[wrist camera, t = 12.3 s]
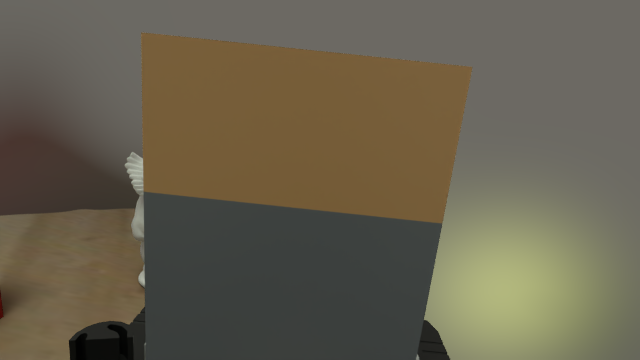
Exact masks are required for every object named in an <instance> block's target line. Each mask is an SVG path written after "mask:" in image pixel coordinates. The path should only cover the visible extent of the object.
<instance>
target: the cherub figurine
mask: <svg viewBox="0 0 640 360" xmlns="http://www.w3.org/2000/svg"><path fill="white" fill-rule="evenodd" d="M127 162H128V163H126V164H125V167H126V168H127V169H128V170H127V173H128V174H130V176H129V177H130V179H133V181H132V182H131V183H132V185H133V188H134V189H135V190H136V192H137V194H139V195H140V197H139V199H138V201H137V205H136V210H135V216H134V219H133V221H132V224H131V227H132V230H133V236H134V238H135V239H136V240H138V241H140V242H141V241H142V242H141V246H140V253H141V257H142V260H143V262H144V192H143V158H141V157H139V156H138V155H137V154H135V153H134V152H132V153H131V155H130V157H128V158H127ZM138 280H139V283H140V284H141V286H143V287H144V288H145V264H144V266H143V271H142V272H141V273H140V275H139V278H138Z"/></svg>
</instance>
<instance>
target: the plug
mask: <svg viewBox="0 0 640 360" xmlns="http://www.w3.org/2000/svg"><path fill="white" fill-rule="evenodd" d="M141 47H142V48H141V49H142V115H143V116H142V117H143V192H144V263H145V334H146V360H416V357H417V352H418V347H419V342H420V337H421V331H422V326H423V321H424V315H425V311H426V305H427V300H428V295H429V290H430V284H431V279H432V274H433V269H434V264H435V259H436V253H437V248H438V243H439V238H440V233H441V228H442V222H443V217H444V212H445V207H446V202H447V197H448V191H449V186H450V181H451V175H452V170H453V165H454V160H455V155H456V149H457V145H458V140H459V133H460V129H461V124H462V119H463V113H464V108H465V102H466V98H467V92H468V88H469V82H470V77H471V72H472V67H467V66H458V65H447V64H438V63H429V62H419V61H410V60H409V61H408V60H400V59H390V58H381V57H372V56H362V55H352V54H343V53H332V52H323V51H313V50H303V49H295V48H285V47H275V46H266V45H256V44H247V43H237V42H227V41H218V40H209V39H199V38H189V37H180V36H170V35H161V34H151V33H141Z"/></svg>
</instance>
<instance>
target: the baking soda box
mask: <svg viewBox="0 0 640 360" xmlns="http://www.w3.org/2000/svg"><path fill="white" fill-rule="evenodd" d="M2 317H3V309H2V300H1V292H0V319H1V318H2Z"/></svg>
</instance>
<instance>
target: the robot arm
mask: <svg viewBox="0 0 640 360" xmlns="http://www.w3.org/2000/svg"><path fill="white" fill-rule="evenodd" d="M69 348H70V360H146V334H145V307H144V308H143V309H142V311H141V312H140V314H138V315H137V316H136V318H135V319H134V320H133V323H132V322H131V323H130V325H128V324H125V323H123V322H116V321H108V322H101V323H97V324H94V325H91V326H88V327H86V328H84V329H82V330H81V331H79V332H77V333H76V334H75V335H74V336H73V337H72V338H71V339H70V340H69ZM416 360H450V358H449V356H448V355H447V352H446V349H445V347H444V345H443V342H442V340H441V338H440V335H439V333H438V331H437V330H436V329H435V328H434V327H433V326H432V325H431V324H430V323H429V322H428V321H426V320H424V321H423V326H422V331H421V337H420V342H419V347H418V352H417V357H416Z"/></svg>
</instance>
